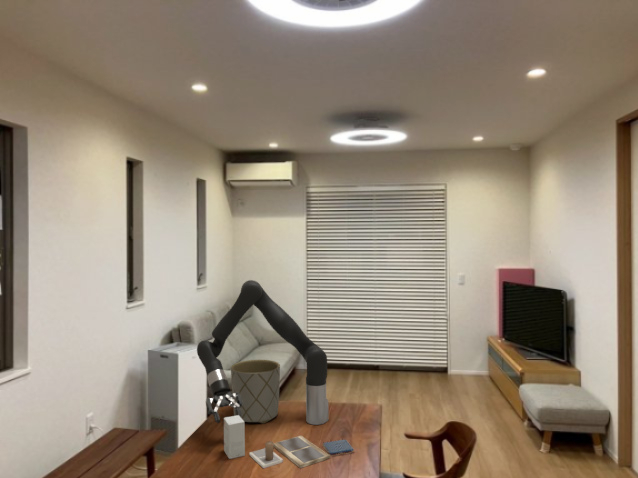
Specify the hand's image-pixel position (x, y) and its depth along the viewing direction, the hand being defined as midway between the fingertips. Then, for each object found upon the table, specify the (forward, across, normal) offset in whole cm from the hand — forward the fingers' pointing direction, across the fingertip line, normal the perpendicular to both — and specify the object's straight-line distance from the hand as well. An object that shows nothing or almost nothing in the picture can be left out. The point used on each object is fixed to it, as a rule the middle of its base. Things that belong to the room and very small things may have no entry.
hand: (229, 419), depth 182 cm
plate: (+19, +8, -3) cm, 21 cm away
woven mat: (+26, +35, -9) cm, 45 cm away
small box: (+12, 0, +5) cm, 13 cm away
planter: (-9, +23, +25) cm, 35 cm away
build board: (+21, +22, -5) cm, 31 cm away
